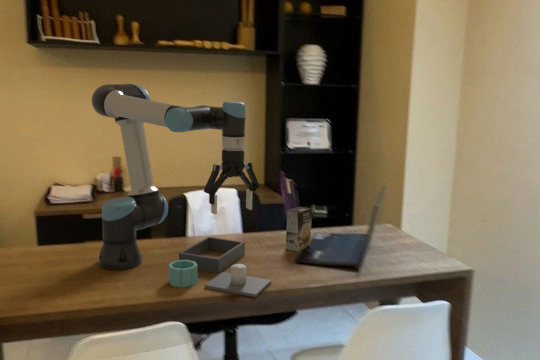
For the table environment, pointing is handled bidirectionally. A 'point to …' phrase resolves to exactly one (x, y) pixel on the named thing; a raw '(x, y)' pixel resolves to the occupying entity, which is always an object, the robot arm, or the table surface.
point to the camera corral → (210, 243)
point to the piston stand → (238, 282)
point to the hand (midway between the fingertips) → (231, 211)
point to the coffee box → (298, 228)
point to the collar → (183, 273)
